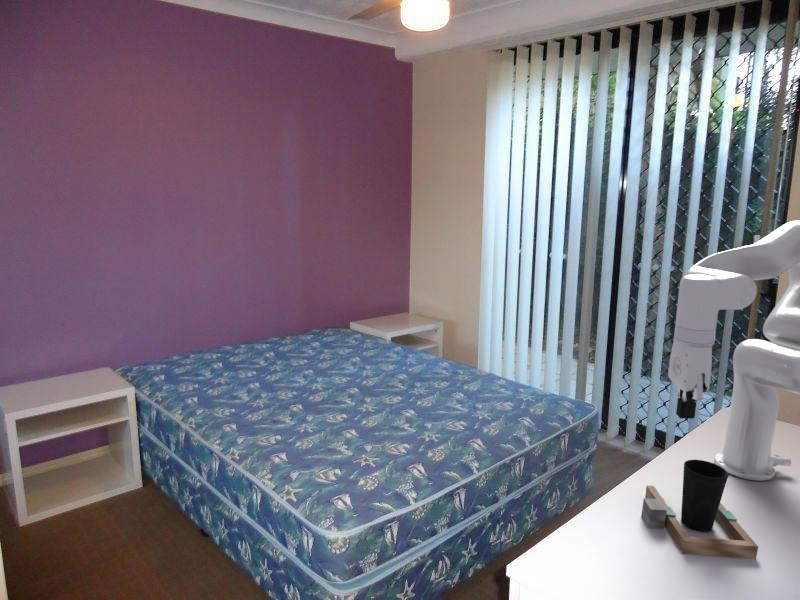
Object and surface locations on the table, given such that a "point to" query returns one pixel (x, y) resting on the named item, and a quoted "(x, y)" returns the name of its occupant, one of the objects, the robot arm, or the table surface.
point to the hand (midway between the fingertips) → (685, 416)
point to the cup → (701, 494)
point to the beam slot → (739, 546)
